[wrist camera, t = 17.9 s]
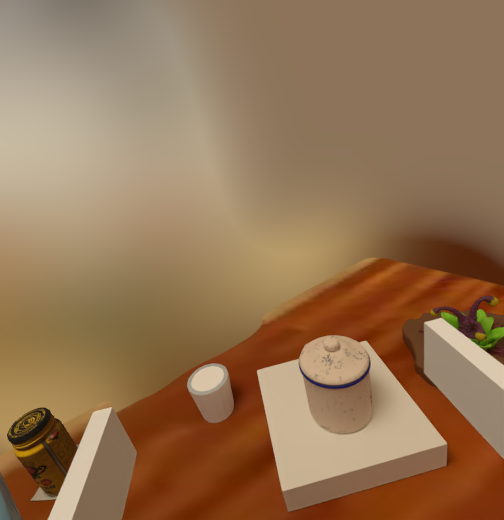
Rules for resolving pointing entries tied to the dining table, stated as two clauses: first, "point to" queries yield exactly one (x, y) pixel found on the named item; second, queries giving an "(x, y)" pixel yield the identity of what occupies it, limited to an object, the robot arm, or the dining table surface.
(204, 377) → the white cup
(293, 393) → the plinth
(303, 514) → the dining table surface
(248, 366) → the dining table surface
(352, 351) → the teacup with lid
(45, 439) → the condiment
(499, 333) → the plant
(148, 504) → the dining table surface
